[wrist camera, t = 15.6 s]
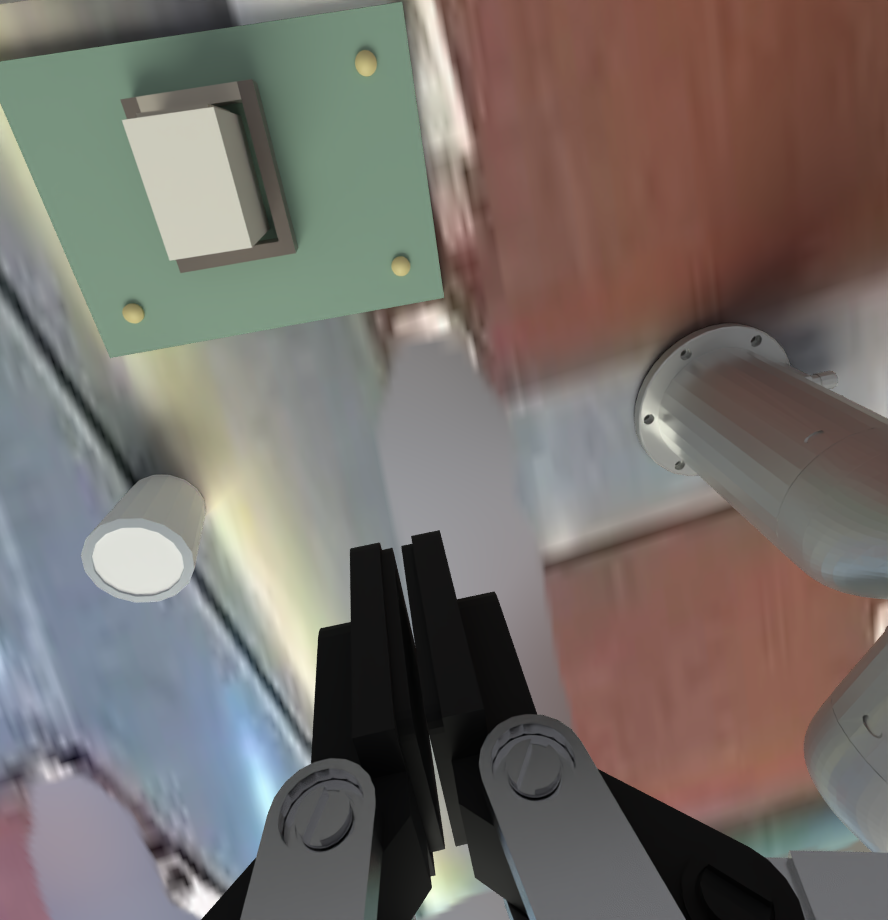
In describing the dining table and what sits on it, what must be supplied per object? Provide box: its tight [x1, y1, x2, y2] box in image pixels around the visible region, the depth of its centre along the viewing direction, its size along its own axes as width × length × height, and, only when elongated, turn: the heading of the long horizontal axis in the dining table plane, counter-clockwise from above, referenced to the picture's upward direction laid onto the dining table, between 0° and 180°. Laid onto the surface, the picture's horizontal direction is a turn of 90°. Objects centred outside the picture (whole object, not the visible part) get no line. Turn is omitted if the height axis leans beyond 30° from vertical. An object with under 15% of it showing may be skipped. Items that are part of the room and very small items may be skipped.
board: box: [0, 2, 444, 358], centre depth 35 cm, size 22×16×1 cm
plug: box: [122, 103, 270, 261], centre depth 31 cm, size 4×6×8 cm, turn 8°
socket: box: [120, 79, 298, 273], centre depth 34 cm, size 7×9×2 cm
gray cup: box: [81, 475, 206, 603], centre depth 42 cm, size 7×7×7 cm
